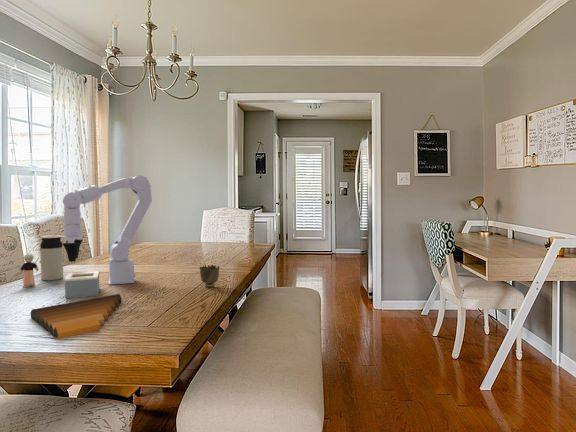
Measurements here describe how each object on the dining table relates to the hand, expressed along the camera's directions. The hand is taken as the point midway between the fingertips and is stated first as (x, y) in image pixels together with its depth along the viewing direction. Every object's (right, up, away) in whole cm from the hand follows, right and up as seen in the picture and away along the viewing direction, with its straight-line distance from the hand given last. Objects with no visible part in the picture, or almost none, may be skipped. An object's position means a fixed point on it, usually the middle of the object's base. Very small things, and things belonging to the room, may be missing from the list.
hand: (73, 259), depth 155 cm
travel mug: (-17, -10, +15) cm, 25 cm away
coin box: (+8, -11, -9) cm, 16 cm away
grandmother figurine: (-18, -11, +2) cm, 21 cm away
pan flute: (+25, -13, -38) cm, 47 cm away
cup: (+52, -11, 0) cm, 53 cm away
